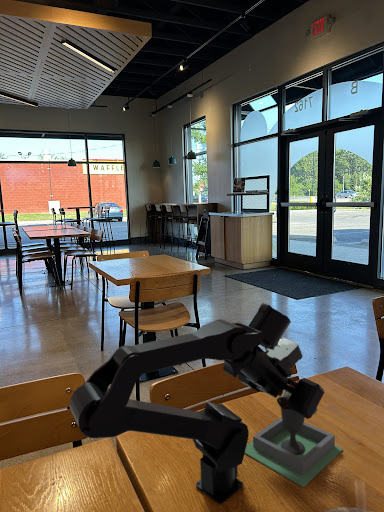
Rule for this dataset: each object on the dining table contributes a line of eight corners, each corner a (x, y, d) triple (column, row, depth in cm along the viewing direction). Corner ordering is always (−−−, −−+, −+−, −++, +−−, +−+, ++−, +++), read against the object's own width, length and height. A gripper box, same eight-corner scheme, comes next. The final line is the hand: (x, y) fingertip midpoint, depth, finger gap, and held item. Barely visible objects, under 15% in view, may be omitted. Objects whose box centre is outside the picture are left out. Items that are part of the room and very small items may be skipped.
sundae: (305, 438, 83) (306, 372, 81) (312, 457, 76) (313, 386, 75) (274, 437, 84) (274, 372, 82) (279, 456, 77) (279, 386, 75)
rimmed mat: (303, 487, 69) (303, 473, 69) (240, 451, 80) (239, 438, 80) (342, 449, 79) (342, 437, 78) (281, 422, 90) (281, 410, 90)
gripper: (317, 343, 67) (354, 384, 74) (246, 320, 82) (283, 356, 90) (286, 399, 64) (328, 437, 71) (219, 364, 79) (259, 397, 86)
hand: (297, 402), depth 80 cm, fingers open, 9 cm apart
